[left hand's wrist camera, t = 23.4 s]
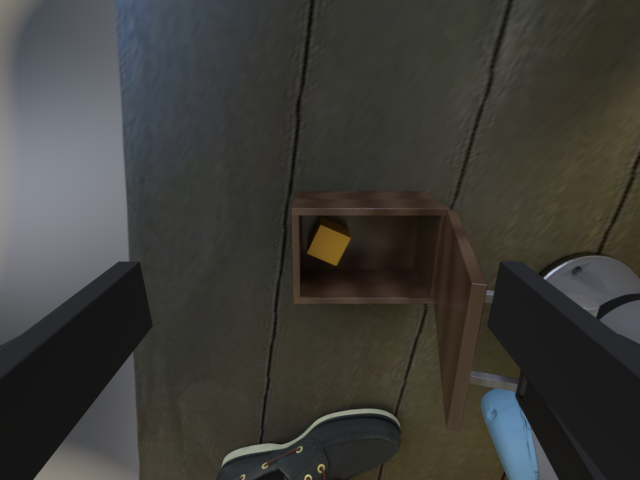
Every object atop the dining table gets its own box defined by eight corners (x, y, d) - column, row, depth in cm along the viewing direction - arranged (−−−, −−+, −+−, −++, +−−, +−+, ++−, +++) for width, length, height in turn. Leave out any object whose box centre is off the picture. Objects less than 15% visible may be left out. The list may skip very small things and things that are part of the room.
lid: (446, 430, 24) (579, 458, 22) (471, 283, 20) (636, 302, 18) (434, 305, 40) (511, 315, 38) (447, 209, 36) (534, 215, 34)
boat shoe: (406, 449, 61) (423, 509, 51) (232, 489, 63) (217, 554, 54) (390, 391, 58) (406, 445, 48) (206, 436, 60) (185, 496, 50)
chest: (297, 271, 49) (293, 304, 40) (296, 190, 45) (291, 208, 36) (416, 271, 49) (436, 304, 41) (425, 191, 45) (450, 208, 37)
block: (307, 242, 46) (306, 253, 43) (320, 215, 45) (320, 224, 41) (334, 253, 47) (336, 266, 43) (348, 227, 46) (351, 238, 42)
